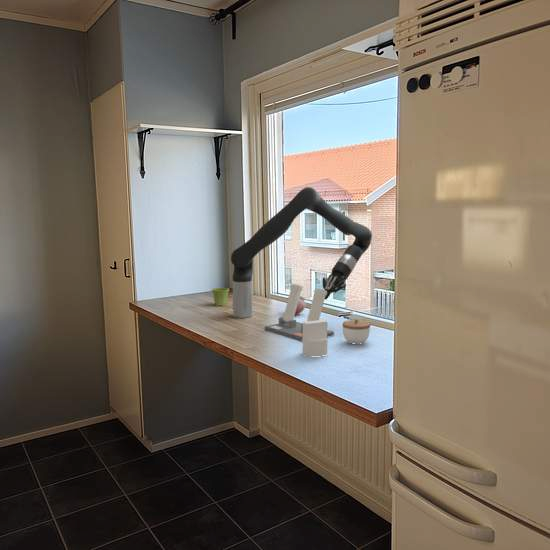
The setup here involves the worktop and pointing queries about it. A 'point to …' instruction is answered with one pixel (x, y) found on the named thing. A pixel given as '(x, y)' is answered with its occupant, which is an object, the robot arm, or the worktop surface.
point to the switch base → (290, 329)
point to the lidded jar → (356, 331)
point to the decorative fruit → (300, 305)
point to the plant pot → (220, 296)
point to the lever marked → (316, 305)
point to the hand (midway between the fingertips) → (323, 298)
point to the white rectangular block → (315, 338)
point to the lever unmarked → (292, 303)
